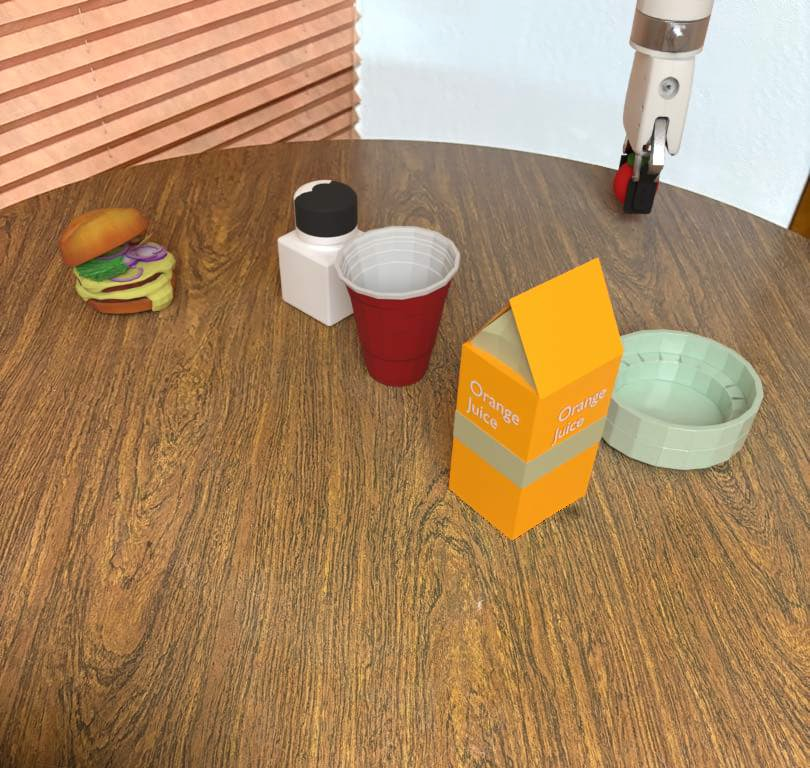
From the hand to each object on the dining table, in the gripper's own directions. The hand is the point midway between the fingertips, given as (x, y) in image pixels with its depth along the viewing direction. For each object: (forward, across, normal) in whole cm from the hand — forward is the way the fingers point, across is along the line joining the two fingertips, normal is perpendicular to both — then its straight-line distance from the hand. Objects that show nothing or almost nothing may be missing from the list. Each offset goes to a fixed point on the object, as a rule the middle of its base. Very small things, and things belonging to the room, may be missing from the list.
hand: (632, 199), depth 101 cm
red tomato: (+1, 0, 0) cm, 1 cm away
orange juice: (+3, -47, +17) cm, 50 cm away
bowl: (+3, -37, +3) cm, 38 cm away
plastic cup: (+2, -31, +27) cm, 41 cm away
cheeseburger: (+2, -20, +56) cm, 59 cm away
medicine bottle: (+2, -20, +34) cm, 40 cm away
